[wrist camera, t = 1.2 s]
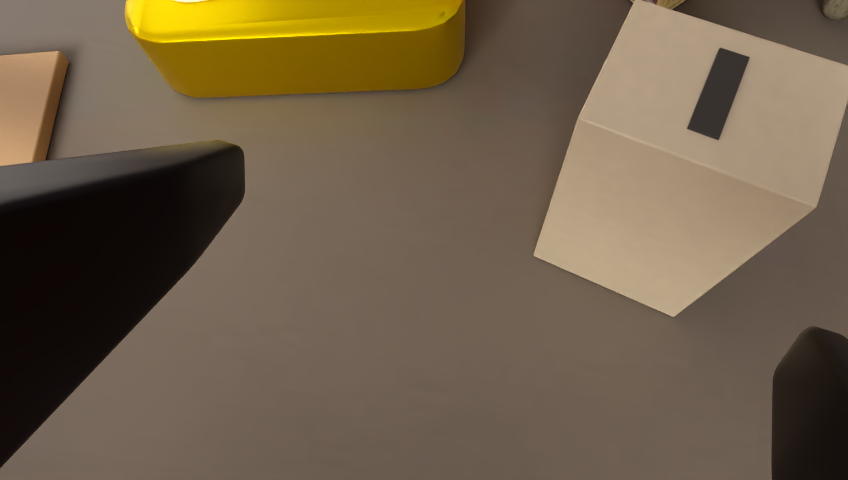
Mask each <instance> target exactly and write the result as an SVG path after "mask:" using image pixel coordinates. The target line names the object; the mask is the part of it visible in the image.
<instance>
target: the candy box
mask: <svg viewBox="0 0 848 480" xmlns="http://www.w3.org/2000/svg"><path fill="white" fill-rule="evenodd" d="M630 1H631V2H633V3H634V1H635V0H630ZM642 1H646V2H649V3H652V4H655V5H658V6H661V7H664V8H668V9H671V10H672V9H674V8H675V7H677V6H678V5H680V4H681V3H683V2H684V1H686V0H642Z"/></svg>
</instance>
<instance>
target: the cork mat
mask: <svg viewBox="0 0 848 480" xmlns="http://www.w3.org/2000/svg"><path fill="white" fill-rule="evenodd" d="M67 66H68V59H67V58H66V57H65V56H64V55H63V54H62V53H61V52H60V51H50V52H38V53H26V54H13V55H1V56H0V166H4V165H12V164H21V163H29V162H38V161H45V160H46V155H47V151H48V147H49V143H50V138H51V134H52V130H53V125H54V121H55V117H56V113H57V108H58V104H59V100H60V96H61V91H62V87H63V83H64V79H65V74H66V70H67Z"/></svg>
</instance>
